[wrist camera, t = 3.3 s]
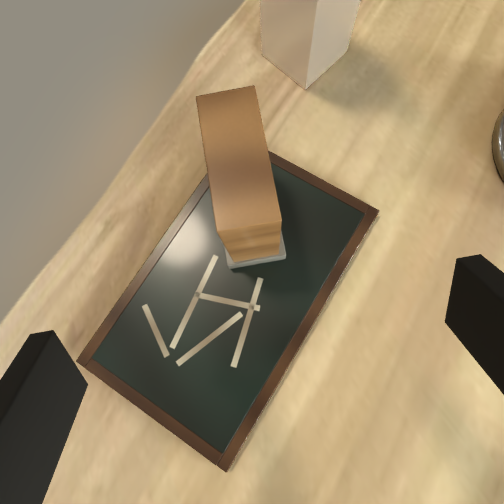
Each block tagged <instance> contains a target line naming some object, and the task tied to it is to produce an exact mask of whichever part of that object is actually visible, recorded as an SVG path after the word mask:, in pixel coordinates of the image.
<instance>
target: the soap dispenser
mask: <svg viewBox="0 0 504 504" xmlns="http://www.w3.org/2000/svg"><path fill="white" fill-rule="evenodd" d="M360 2H361V0H260V22H261V49H262V55H263V56H264V57H265V58H266V59H268V60H269V61H270V62H271V63H273V64H274V65H275V66H276V67H277V68H279V69H280V70H281V71H282V72H284V73H285V74H286V75H287V76H289V77H290V78H291V79H292V80H293V81H295V82H296V83H297V84H298V85H300V86H301V87H302V88H303V89H305V90H306V89H307V88H308V87H309V86H310V85H311V84H312V83H313V82H314V81H316V80H317V79H318V78H319V77H320V76H321V75H322V74H323V73H324V72H325V71H326V70H327V69H329V68H330V67H331V66H332V65H333V64H334V63H335V62H336V61H337V60H338V59H339V58H341V57H342V56H343V55H344V54H345V53H346V52H347V50H348V46H349V42H350V39H351V35H352V31H353V28H354V24H355V20H356V16H357V13H358V9H359V5H360Z"/></svg>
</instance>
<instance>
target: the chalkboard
mask: <svg viewBox="0 0 504 504" xmlns="http://www.w3.org/2000/svg"><path fill="white" fill-rule="evenodd" d="M268 154H269V159H270V164H271V169H272V174H273V179H274V184H275V188H276V193H277V198H278V203H279V208H280V213H281V218H282V222H281V231H282V236H283V241H284V246H285V251H286V258H285V259H283V260H277V261H272V262H266V263H261V264H255V265H249V266H244V267H238V268H233V269H229V267H228V266H227V261H226V255H225V248H224V244H223V242H222V240H221V239H220V237H219V235H218V233H217V232H216V226H215V219H214V213H213V206H212V199H211V193H210V186H209V180H208V173H207V174H206V175H205V177H204V178H203V180H202V181H201V182H200V184H199V185H198V187H197V188H196V190H195V191H194V193H193V194H192V195H191V197H190V198H189V200H188V201H187V203H186V204H185V205H184V207H183V208H182V210H181V211H180V213H179V214H178V215H177V217H176V218H175V220H174V221H173V223H172V224H171V226H170V227H169V228H168V230H167V231H166V233H165V234H164V236H163V237H162V238H161V240H160V241H159V243H158V244H157V246H156V247H155V248H154V250H153V251H152V253H151V254H150V256H149V257H148V258H147V260H146V261H145V263H144V264H143V266H142V267H141V269H140V270H139V271H138V273H137V274H136V276H135V277H134V279H133V280H132V281H131V283H130V284H129V286H128V287H127V289H126V290H125V291H124V293H123V294H122V296H121V297H120V299H119V300H118V302H117V303H116V304H115V306H114V307H113V309H112V310H111V312H110V313H109V314H108V316H107V317H106V319H105V320H104V322H103V323H102V324H101V326H100V327H99V329H98V330H97V332H96V333H95V335H94V336H93V337H92V339H91V340H90V342H89V343H88V345H87V346H86V347H85V349H84V350H83V352H82V353H81V355H80V356H79V357H78V359H77V360H76V362H78V363H79V364H80V365H82V366H83V367H85V368H86V369H87V370H88V371H90V372H91V373H92V374H94V375H95V376H96V377H98V378H99V379H100V380H102V381H103V382H105V383H106V384H107V385H109V386H110V387H111V388H113V389H114V390H115V391H117V392H118V393H119V394H121V395H122V396H123V397H125V398H126V399H127V400H129V401H130V402H131V403H133V404H134V405H136V406H137V407H138V408H140V409H141V410H142V411H144V412H145V413H146V414H148V415H149V416H150V417H152V418H153V419H154V420H156V421H157V422H158V423H160V424H161V425H162V426H164V427H165V428H167V429H168V430H169V431H171V432H172V433H173V434H175V435H176V436H177V437H179V438H180V439H181V440H183V441H184V442H185V443H187V444H188V445H189V446H191V447H192V448H193V449H195V450H196V451H198V452H199V453H200V454H202V455H203V456H204V457H206V458H207V459H208V460H210V461H211V462H212V463H214V464H215V465H217V466H218V467H219V468H221V469H222V470H223V471H225V472H228V470H229V468H230V466H231V465H232V463H233V461H234V460H235V458H236V456H237V454H238V453H239V451H240V449H241V448H242V446H243V444H244V442H245V441H246V439H247V437H248V436H249V434H250V432H251V430H252V429H253V427H254V425H255V424H256V422H257V420H258V419H259V417H260V415H261V413H262V412H263V410H264V408H265V407H266V405H267V403H268V401H269V400H270V398H271V396H272V395H273V393H274V391H275V389H276V388H277V386H278V384H279V383H280V381H281V379H282V377H283V376H284V374H285V372H286V371H287V369H288V367H289V365H290V364H291V362H292V360H293V359H294V357H295V355H296V353H297V352H298V350H299V348H300V347H301V345H302V343H303V341H304V340H305V338H306V336H307V335H308V333H309V331H310V329H311V328H312V326H313V324H314V323H315V321H316V319H317V317H318V316H319V314H320V312H321V311H322V309H323V307H324V305H325V304H326V302H327V300H328V299H329V297H330V295H331V293H332V292H333V290H334V288H335V287H336V285H337V283H338V281H339V280H340V278H341V276H342V275H343V273H344V271H345V269H346V268H347V266H348V264H349V263H350V261H351V259H352V257H353V256H354V254H355V252H356V251H357V249H358V247H359V245H360V244H361V242H362V240H363V239H364V237H365V235H366V233H367V232H368V230H369V228H370V227H371V225H372V223H373V221H374V220H375V218H376V216H377V215H378V213H379V210H377V209H375V208H374V207H372V206H370V205H368V204H366V203H364V202H363V201H361V200H359V199H357V198H355V197H353V196H352V195H350V194H348V193H346V192H344V191H342V190H340V189H339V188H337V187H335V186H333V185H331V184H329V183H327V182H326V181H324V180H322V179H320V178H318V177H316V176H314V175H313V174H311V173H309V172H307V171H305V170H303V169H302V168H300V167H298V166H296V165H294V164H292V163H290V162H289V161H287V160H285V159H283V158H281V157H279V156H277V155H276V154H274V153H272V152H270V151H268Z"/></svg>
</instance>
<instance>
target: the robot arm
mask: <svg viewBox="0 0 504 504" xmlns="http://www.w3.org/2000/svg"><path fill="white" fill-rule="evenodd" d="M492 150H493V156H494V160H495V164H496V167H497V169H498V172H499V174H500V176H501V178H502V179H503V181H504V110H503V111H502V112H501V114H500V116H499V117H498V120H497V122H496V124H495V127H494V132H493V138H492ZM445 323H446V324H447V325H448V327H449V328H450V329H451V330H452V332H453V333H454V334H455V335H456V336H457V338H458V339H459V340H460V341H461V343H462V344H463V345H464V346H465V348H466V349H467V350H468V351H469V352H470V354H471V355H472V356H473V357H474V359H475V360H476V361H477V362H478V364H479V365H480V366H481V367H482V368H483V370H484V371H485V372H486V373H487V375H488V376H489V377H490V378H491V380H492V381H493V382H494V383H495V384H496V386H497V387H498V388H499V389H500V391H501V392H502V393H503V394H504V273H503V272H502V271H501V270H499V269H498V268H497V267H496V266H494V265H493V264H492V263H491V262H489V261H488V260H487V259H486V258H484V257H483V256H482V255H481V254H479V255H474V256H468V257H462V258H457V259H456V264H455V270H454V275H453V280H452V286H451V291H450V296H449V302H448V307H447V312H446V318H445ZM87 386H88V383H87V382H86V380H85V379H84V377H83V376H82V374H81V372H80V371H79V369H78V368H77V366H76V365H75V363H74V362H73V360H72V358H71V357H70V355H69V354H68V352H67V351H66V349H65V347H64V346H63V344H62V343H61V341H60V340H59V338H58V336H57V335H56V333H55V332H54V330H51V331H45V332H40V333H34V334H30V335H29V337H28V338H27V340H26V341H25V343H24V345H23V346H22V348H21V349H20V351H19V352H18V354H17V355H16V357H15V358H14V360H13V361H12V363H11V365H10V366H9V368H8V369H7V371H6V372H5V374H4V375H3V377H2V378H1V380H0V504H42V503H43V500H44V498H45V495H46V493H47V490H48V487H49V485H50V482H51V480H52V477H53V474H54V472H55V469H56V467H57V464H58V461H59V459H60V456H61V454H62V451H63V448H64V446H65V443H66V441H67V438H68V435H69V433H70V430H71V428H72V425H73V422H74V420H75V417H76V415H77V412H78V409H79V407H80V404H81V402H82V399H83V396H84V394H85V391H86V389H87Z"/></svg>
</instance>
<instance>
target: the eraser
mask: <svg viewBox="0 0 504 504" xmlns="http://www.w3.org/2000/svg"><path fill="white" fill-rule="evenodd" d="M196 102H197V108H198V115H199V121H200V128H201V134H202V141H203V147H204V154H205V160H206V167H207V173H208V180H209V186H210V193H211V199H212V206H213V213H214V219H215V226H216V232H217V233H218V235H219V237H220V239H221V240H222V242H223V244H224V248H225V255H226V261H227V266H228V267H229V269H233V268H238V267H244V266H249V265H255V264H261V263H266V262H272V261H277V260H283V259H285V258H286V251H285V246H284V241H283V236H282V231H281V222H282V218H281V213H280V208H279V203H278V198H277V193H276V188H275V184H274V179H273V174H272V169H271V164H270V159H269V154H268V149H267V144H266V139H265V134H264V129H263V124H262V119H261V114H260V109H259V104H258V99H257V94H256V89H255V86H254V85H253V86H248V87H243V88H237V89H232V90H227V91H221V92H216V93H211V94H206V95H200V96H196Z"/></svg>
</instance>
